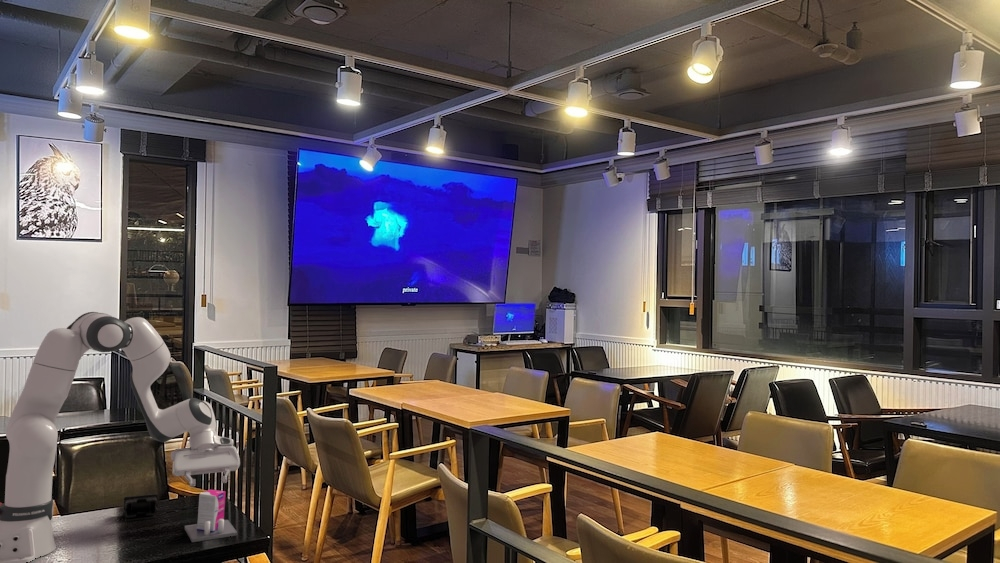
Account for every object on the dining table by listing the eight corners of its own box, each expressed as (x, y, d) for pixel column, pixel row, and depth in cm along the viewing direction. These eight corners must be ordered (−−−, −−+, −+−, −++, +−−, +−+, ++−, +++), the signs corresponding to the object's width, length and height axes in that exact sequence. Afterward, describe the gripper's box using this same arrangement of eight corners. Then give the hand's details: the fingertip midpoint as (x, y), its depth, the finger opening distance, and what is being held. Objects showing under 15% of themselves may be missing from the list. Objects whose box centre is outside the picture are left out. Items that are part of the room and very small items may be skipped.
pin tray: (192, 542, 212) (192, 525, 212) (184, 528, 223) (185, 513, 223) (237, 535, 219) (237, 519, 219) (227, 522, 230) (228, 507, 230)
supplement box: (213, 533, 218) (215, 495, 218) (196, 531, 219) (197, 493, 219) (224, 526, 223) (226, 490, 223) (207, 524, 224) (209, 488, 224)
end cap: (156, 511, 238) (157, 491, 238) (157, 518, 232) (158, 497, 232) (123, 515, 233) (123, 494, 233) (123, 521, 227) (124, 500, 227)
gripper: (171, 443, 226) (174, 482, 218) (238, 438, 237) (243, 475, 229) (168, 454, 230) (171, 492, 222) (234, 449, 241) (239, 485, 233)
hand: (208, 483), depth 225 cm, fingers open, 8 cm apart
